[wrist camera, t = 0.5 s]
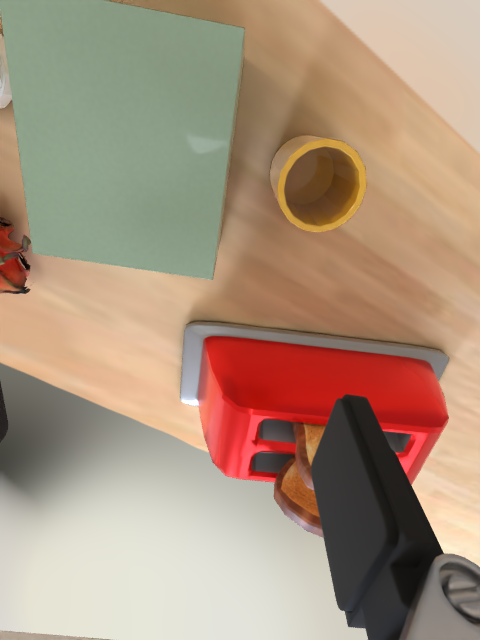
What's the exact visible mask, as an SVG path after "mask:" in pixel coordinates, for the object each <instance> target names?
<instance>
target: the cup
mask: <svg viewBox="0 0 480 640" xmlns="http://www.w3.org/2000/svg"><path fill="white" fill-rule="evenodd" d="M270 182H271V186H272V190H273V192H274V195H275V197H276V199H277V201H278V203H279V206H280V208H281V210H282V211H283V213H284V214H285V216H286V217H287V219H288V220H289V221H290V222H291V223H293V224H294V225H296V226H297V227H299V228H300V229H302V230H306V231H312V232H323V231H328V230H332V229H335V228H337V227H339V226H340V225H342V224H343V223H345V222H346V221H348V220H349V219H350V218H351V217H352V216H353V214H354V213H355V212H356V210H357V209H358V208H359V206H360V205H361V203H362V200H363V197H364V194H365V190H366V186H367V182H366V169H365V166H364V164H363V162H362V160H361V158H360V156H359V154H358V152H357V151H355V150H354V149H353V148H351V147H350V146H349V145H347V144H346V143H345V142H343V141H339V140H333V139H328V138H322V137H316V136H310V135H304V136H298V137H295V138H293V139H291V140H289V141H287V142H286V143H285V144H284V145H282V146H281V147H280V149H279V150H278V151H277V153H276V154H275V156H274V158H273V160H272V163H271V167H270Z"/></svg>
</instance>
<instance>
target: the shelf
mask: <svg viewBox="0 0 480 640" xmlns="http://www.w3.org/2000/svg"><path fill="white" fill-rule="evenodd" d="M0 13H1V20H2V28H3V35H4V43H5V50H6V58H7V65H8V73H9V80H10V87H11V95H12V102H13V110H14V117H15V125H16V132H17V140H18V147H19V155H20V162H21V170H22V177H23V185H24V192H25V200H26V207H27V215H28V222H29V230H30V237H31V244H32V252H33V253H34V254H40V255H47V256H54V257H61V258H67V259H74V260H81V261H88V262H94V263H101V264H108V265H115V266H121V267H128V268H135V269H142V270H148V271H155V272H162V273H169V274H176V275H182V276H189V277H196V278H203V279H209V280H213V275H214V270H215V265H216V260H217V254H218V249H219V244H220V237H221V230H222V222H223V214H224V207H225V199H226V192H227V184H228V177H229V169H230V161H231V154H232V146H233V139H234V131H235V123H236V116H237V108H238V101H239V93H240V86H241V78H242V70H243V63H244V42H245V28H243V27H238V26H233V25H228V24H223V23H218V22H213V21H208V20H203V19H198V18H193V17H188V16H183V15H177V14H172V13H167V12H162V11H157V10H152V9H147V8H142V7H137V6H132V5H127V4H122V3H117V2H112V1H107V0H0Z"/></svg>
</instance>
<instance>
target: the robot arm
mask: <svg viewBox="0 0 480 640" xmlns="http://www.w3.org/2000/svg"><path fill="white" fill-rule="evenodd" d="M7 430H8V420H7V415H6V409H5V404H4V399H3V393H2V388H1V383H0V442H1V440H3V438H4V437H5V435H6V432H7ZM311 477H312V482H313V487H314V492H315V497H316V502H317V507H318V512H319V517H320V522H321V527H322V532H323V537H324V541H325V546H326V551H327V556H328V561H329V566H330V571H331V576H332V581H333V586H334V591H335V596H336V601H337V605H338V607H339V609H340V610H342V611H345V614H346V619H347V624H348V627H355V628H366V632H367V636H368V640H480V567H479V566H477V565H476V564H475V563H473V562H471V561H469V560H468V559H466V558H464V557H461V556H458V555H455V554H444V553H443V551H442V549H441V547H440V544H439V542H438V540H437V538H436V536H435V534H434V532H433V530H432V528H431V526H430V523H429V521H428V519H427V517H426V515H425V513H424V511H423V509H422V507H421V505H420V503H419V500H418V498H417V496H416V494H415V492H414V490H413V488H412V486H411V484H410V482H409V479H408V477H407V475H406V473H405V471H404V469H403V467H402V465H401V463H400V461H399V458H398V456H397V455H396V453H395V452H394V450H392V449H391V447H390V445H389V443H388V441H387V439H386V437H385V435H384V432H383V430H382V428H381V426H380V424H379V422H378V420H377V418H376V415H375V413H374V411H373V409H372V407H371V405H370V403H369V400H368V399H367V398H366V397H364V396H357V395H349V394H345V395H344V396H343V397H342V399H341V398H338V399H337V400H336V402H335V404H334V407H333V409H332V412H331V414H330V417H329V419H328V422H327V425H326V427H325V430H324V432H323V435H322V437H321V440H320V443H319V445H318V448H317V450H316V453H315V455H314V458H313V461H312V464H311ZM0 640H109V639H97V638H85V637H72V636H59V635H47V634H36V633H24V632H12V631H0Z"/></svg>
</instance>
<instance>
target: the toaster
mask: <svg viewBox="0 0 480 640" xmlns="http://www.w3.org/2000/svg"><path fill="white" fill-rule="evenodd" d="M448 361H449V357H448V356H447V355H446V354H444V353H443V352H441V351H440V350H435V349H431V348H426V347H421V346H414V345H406V344H398V343H390V342H382V341H373V340H365V339H356V338H348V337H339V336H331V335H323V334H314V333H306V332H297V331H289V330H280V329H272V328H264V327H255V326H247V325H238V324H229V323H220V322H193V323H190V324H187V325H186V327H185V330H184V343H183V358H182V374H181V389H180V399H181V401H182V402H184V403H186V404H188V405H192V406H198V407H199V412H200V417H201V423H202V428H203V433H204V438H205V441H206V444H207V447H208V450H209V453H210V455H211V458H212V461H213V463H214V464H215V465H216V466H217V467H218V468H219V469H220V470H221V471H222V473H224V474H225V476H228V477H232V478H236V479H244V480H255V481H265V482H275V484H274V499H275V501H276V502H277V504H278V505H279V507H280V508H281V509H282V511H283V512H284V514H285V515H286V516H287V517H289V518H290V519H291V520H293V521H294V522H295V523H297V524H298V525H299V526H301V527H302V528H304V529H305V530H306V531H308V532H311V533H313V534H316V535H318V536H320V537H323V532H322V527H321V522H320V517H319V512H318V507H317V502H316V497H315V492H314V487H313V482H312V477H311V464H312V461H313V458H314V455H315V453H316V450H317V448H318V445H319V443H320V440H321V437H322V435H323V432H324V430H325V427H326V425H327V422H328V419H329V417H330V414H331V412H332V409H333V407H334V404H335V402H336V400H337V399H338V398H341V399H342V397H343V396H344V395H345V394H349V395H357V396H364V397H366V398H367V399H368V400H369V403H370V405H371V407H372V409H373V411H374V413H375V415H376V418H377V420H378V422H379V424H380V426H381V428H382V430H383V432H384V435H385V437H386V439H387V441H388V443H389V445H390V447H391V449H392V450H394V452H395V453H396V455H397V456H398V458H399V461H400V463H401V465H402V467H403V469H404V471H405V473H406V475H407V477H408V479H409V482H410V484H411V485H412V483H413V482H414V480H415V479H416V477H417V475H418V473H419V472H420V470H421V468H422V466H423V465H424V463H425V461H426V459H427V458H428V456H429V454H430V453H431V451H432V449H433V447H434V446H435V444H436V442H437V440H438V439H439V437H440V435H441V433H442V432H443V430H444V428H445V426H446V425H447V423H448V419H449V416H448V411H447V407H446V402H445V398H444V394H443V392H442V389H441V387H440V384H439V382H438V381H439V379H440V377H441V375H442V373H443V371H444V369H445V368H446V366H447V364H448ZM323 538H324V537H323Z"/></svg>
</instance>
